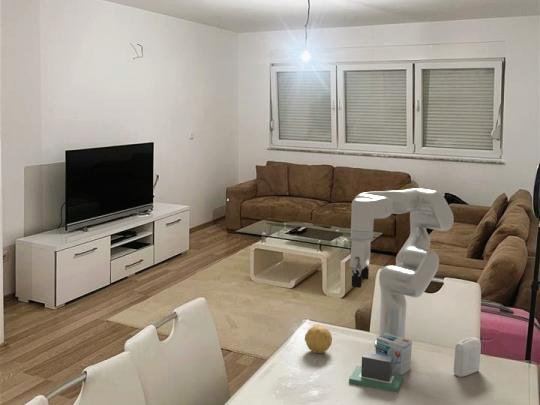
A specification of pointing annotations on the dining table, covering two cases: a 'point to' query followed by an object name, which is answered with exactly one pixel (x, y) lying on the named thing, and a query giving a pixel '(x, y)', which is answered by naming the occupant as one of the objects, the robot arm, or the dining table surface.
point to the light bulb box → (395, 351)
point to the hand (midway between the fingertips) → (360, 282)
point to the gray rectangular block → (376, 366)
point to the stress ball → (318, 339)
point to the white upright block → (467, 357)
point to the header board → (376, 381)
